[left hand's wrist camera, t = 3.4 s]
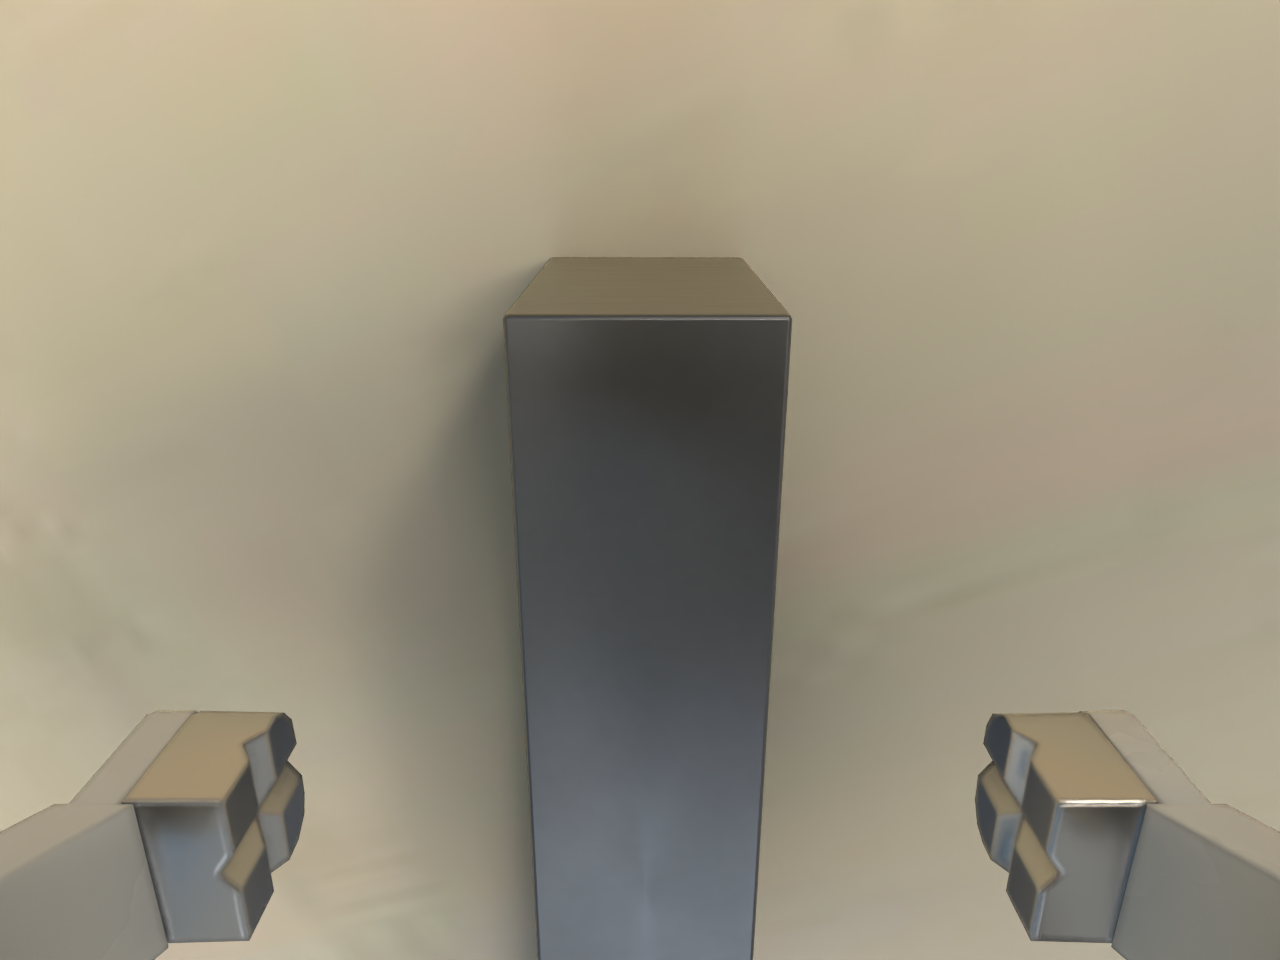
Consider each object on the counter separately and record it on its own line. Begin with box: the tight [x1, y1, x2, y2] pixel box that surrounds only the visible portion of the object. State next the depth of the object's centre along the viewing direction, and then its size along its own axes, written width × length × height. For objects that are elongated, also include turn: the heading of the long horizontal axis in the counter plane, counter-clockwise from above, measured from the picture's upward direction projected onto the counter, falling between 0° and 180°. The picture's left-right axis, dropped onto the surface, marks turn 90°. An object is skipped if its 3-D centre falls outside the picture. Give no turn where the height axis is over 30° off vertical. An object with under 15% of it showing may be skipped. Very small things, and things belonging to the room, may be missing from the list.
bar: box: [503, 258, 792, 960], centre depth 25 cm, size 26×5×8 cm, turn 0°
